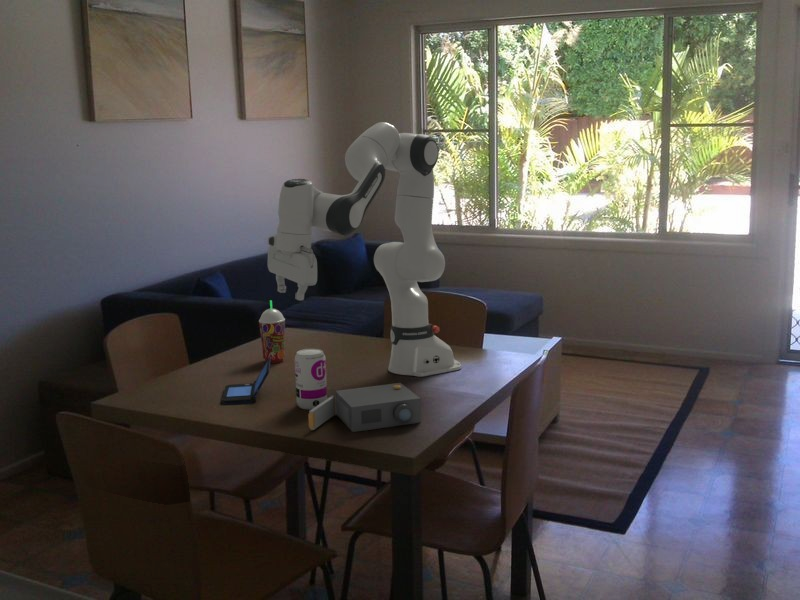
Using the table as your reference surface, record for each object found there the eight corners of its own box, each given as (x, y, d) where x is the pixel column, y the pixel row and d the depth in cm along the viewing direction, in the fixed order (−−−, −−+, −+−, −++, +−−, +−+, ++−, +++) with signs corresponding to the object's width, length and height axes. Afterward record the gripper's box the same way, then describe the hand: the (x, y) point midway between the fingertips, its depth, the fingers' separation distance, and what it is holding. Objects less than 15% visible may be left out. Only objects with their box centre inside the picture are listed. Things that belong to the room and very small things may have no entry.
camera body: (401, 405, 241) (400, 380, 239) (424, 425, 225) (423, 398, 223) (335, 414, 235) (334, 388, 234) (354, 435, 219) (353, 407, 217)
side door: (335, 414, 234) (335, 395, 233) (313, 431, 222) (312, 411, 221) (331, 414, 235) (331, 395, 234) (309, 431, 222) (308, 410, 221)
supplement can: (333, 404, 243) (331, 351, 240) (311, 412, 237) (308, 357, 234) (313, 399, 249) (310, 346, 246) (290, 406, 243) (287, 352, 240)
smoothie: (276, 365, 285) (272, 303, 281) (255, 362, 289) (252, 301, 285) (292, 359, 292) (289, 299, 288) (272, 356, 296) (269, 297, 292)
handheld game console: (225, 389, 261) (224, 358, 259) (272, 387, 262) (270, 356, 261) (221, 405, 246) (219, 373, 244) (270, 403, 247) (268, 370, 245)
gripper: (325, 249, 223) (321, 304, 225) (285, 236, 239) (282, 287, 241) (303, 250, 219) (299, 305, 222) (264, 236, 235) (261, 288, 238)
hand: (290, 296), depth 232 cm, fingers open, 8 cm apart
